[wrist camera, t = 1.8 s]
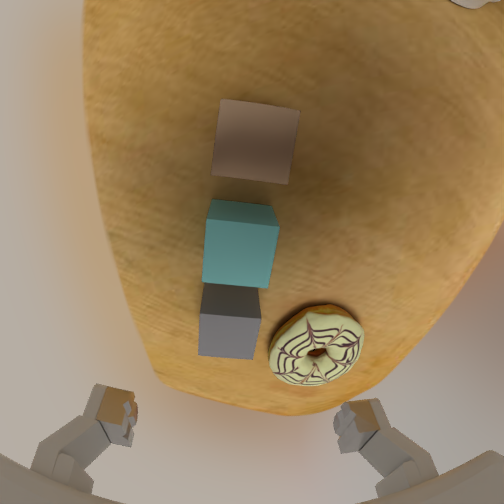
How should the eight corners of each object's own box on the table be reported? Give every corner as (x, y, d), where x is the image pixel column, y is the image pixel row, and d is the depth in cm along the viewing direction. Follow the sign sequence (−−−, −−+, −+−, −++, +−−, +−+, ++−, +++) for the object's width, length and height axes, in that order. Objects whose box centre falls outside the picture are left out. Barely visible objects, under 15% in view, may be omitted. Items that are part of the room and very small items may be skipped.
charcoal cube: (204, 280, 27) (199, 313, 23) (257, 285, 28) (261, 318, 23) (202, 320, 29) (198, 355, 25) (249, 325, 30) (252, 359, 25)
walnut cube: (224, 103, 20) (220, 98, 16) (287, 112, 21) (300, 110, 16) (216, 163, 22) (210, 175, 18) (277, 171, 23) (287, 185, 19)
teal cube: (212, 198, 24) (206, 218, 19) (271, 205, 24) (279, 226, 20) (207, 252, 26) (201, 282, 21) (262, 258, 26) (267, 288, 22)
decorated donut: (373, 312, 31) (386, 333, 27) (327, 373, 35) (334, 395, 31) (294, 289, 28) (301, 312, 25) (253, 359, 33) (255, 384, 29)
